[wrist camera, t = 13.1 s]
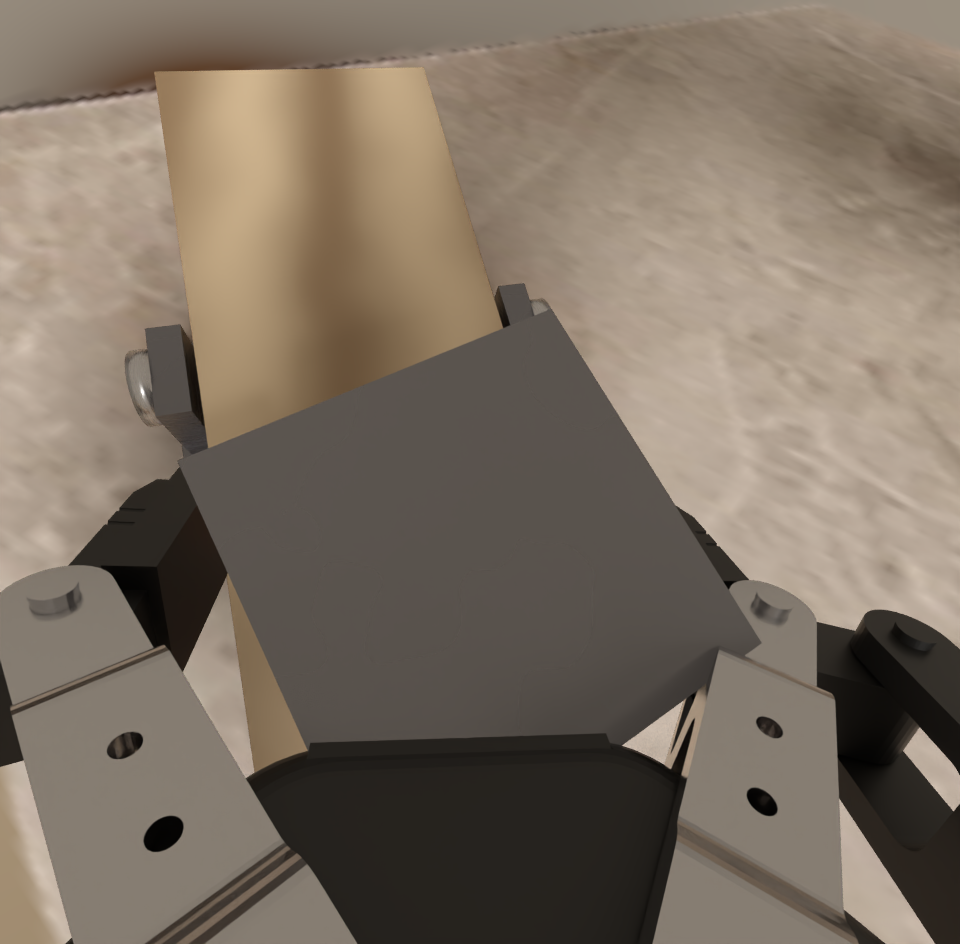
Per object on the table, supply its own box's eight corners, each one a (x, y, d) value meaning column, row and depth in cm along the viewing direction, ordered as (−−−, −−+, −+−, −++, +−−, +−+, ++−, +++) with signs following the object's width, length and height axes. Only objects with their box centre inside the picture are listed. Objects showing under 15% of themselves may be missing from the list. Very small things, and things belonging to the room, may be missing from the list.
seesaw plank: (419, 112, 24) (424, 62, 22) (583, 669, 18) (610, 673, 16) (173, 121, 22) (152, 66, 20) (270, 767, 16) (254, 786, 14)
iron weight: (454, 495, 17) (551, 308, 7) (534, 643, 16) (761, 643, 7) (299, 572, 15) (177, 461, 6) (378, 740, 14) (383, 919, 5)
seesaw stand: (492, 315, 26) (524, 221, 21) (539, 470, 24) (589, 413, 18) (177, 358, 23) (110, 259, 17) (201, 541, 21) (134, 499, 15)
